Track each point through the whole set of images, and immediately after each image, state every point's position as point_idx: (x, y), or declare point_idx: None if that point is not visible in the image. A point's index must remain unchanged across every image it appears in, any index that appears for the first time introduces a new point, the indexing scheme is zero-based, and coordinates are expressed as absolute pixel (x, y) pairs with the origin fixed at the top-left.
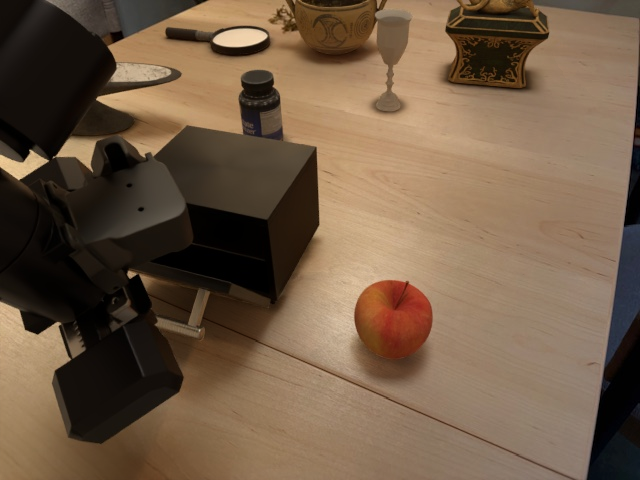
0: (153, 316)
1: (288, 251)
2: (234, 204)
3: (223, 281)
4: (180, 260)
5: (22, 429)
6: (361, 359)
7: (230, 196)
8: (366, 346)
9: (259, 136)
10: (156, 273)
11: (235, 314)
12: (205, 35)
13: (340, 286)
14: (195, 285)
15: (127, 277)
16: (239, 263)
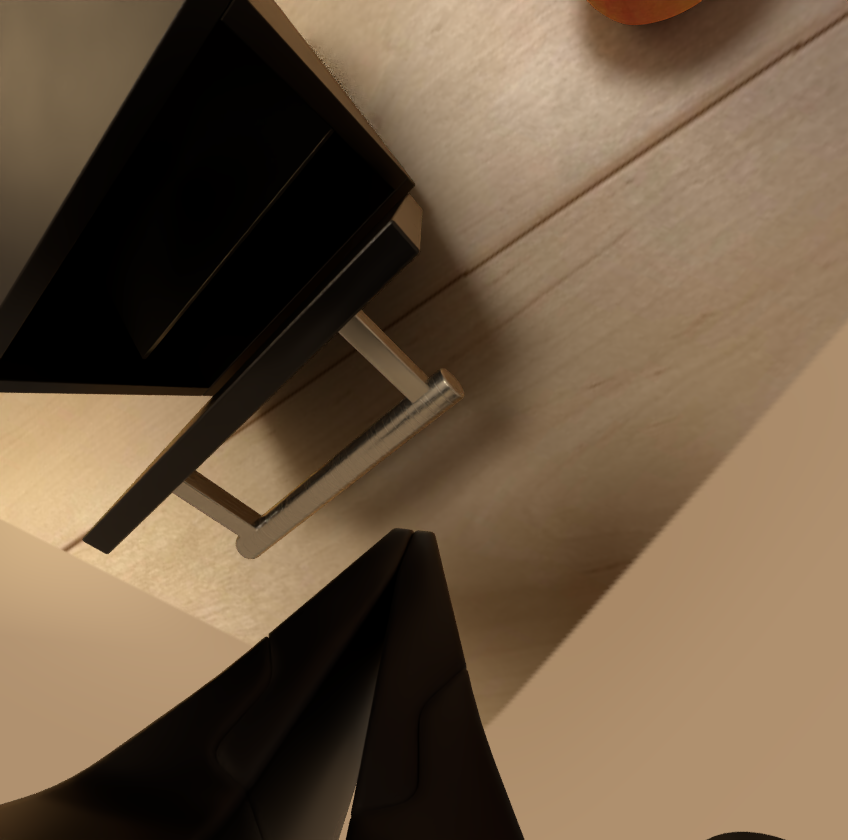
0: (430, 566)
1: (324, 73)
2: (105, 73)
3: (371, 245)
4: (226, 332)
5: None
6: (653, 68)
7: (74, 79)
8: (675, 8)
9: None
10: (238, 420)
11: (385, 287)
12: None
13: (442, 40)
14: (332, 337)
15: (206, 731)
16: (288, 222)
